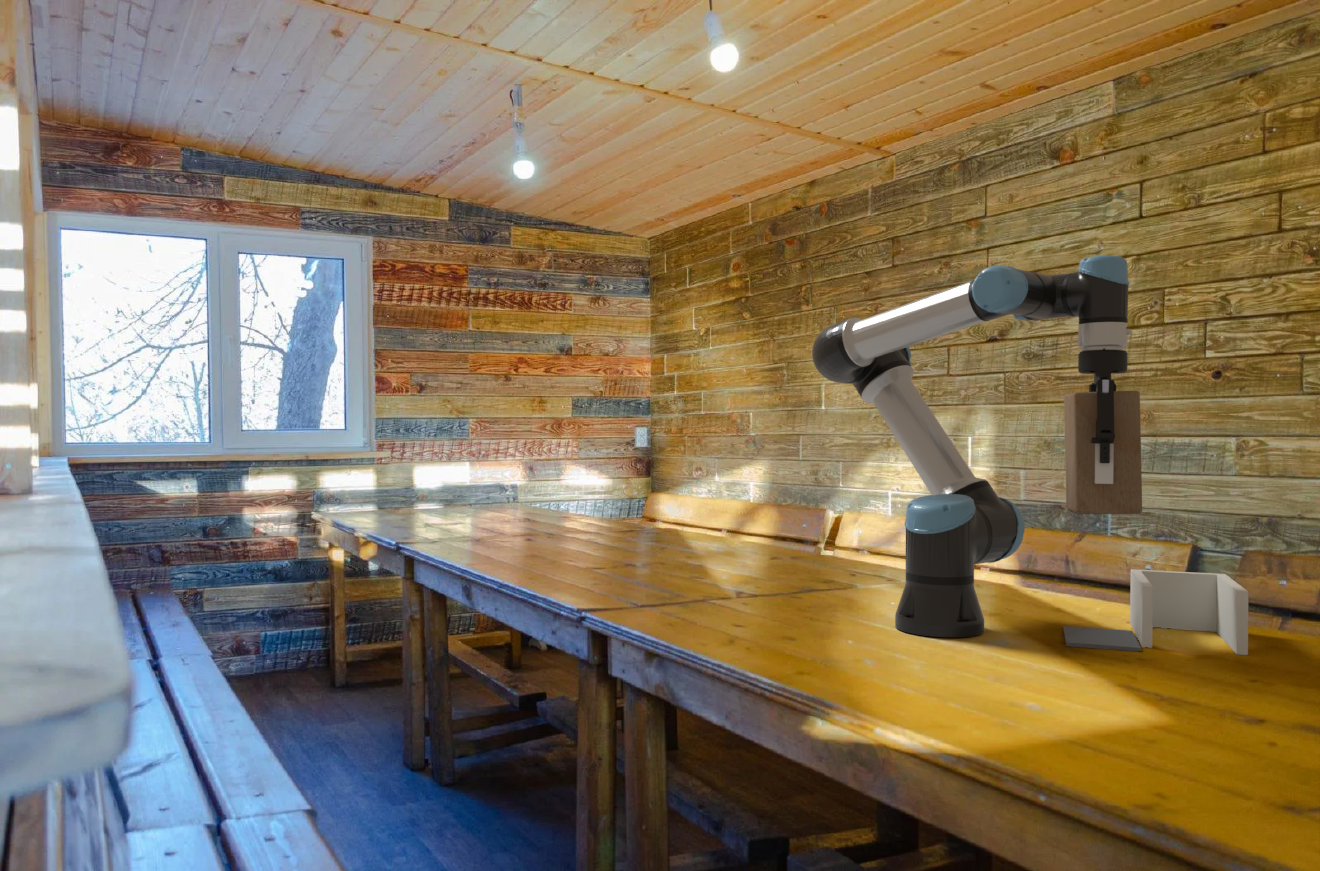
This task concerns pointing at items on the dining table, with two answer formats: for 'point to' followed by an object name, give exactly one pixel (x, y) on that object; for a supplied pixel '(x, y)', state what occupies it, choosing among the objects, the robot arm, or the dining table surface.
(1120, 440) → the wooden block
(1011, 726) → the dining table surface
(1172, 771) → the dining table surface
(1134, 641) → the mat
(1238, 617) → the white u-shaped bracket
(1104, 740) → the dining table surface
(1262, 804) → the dining table surface
